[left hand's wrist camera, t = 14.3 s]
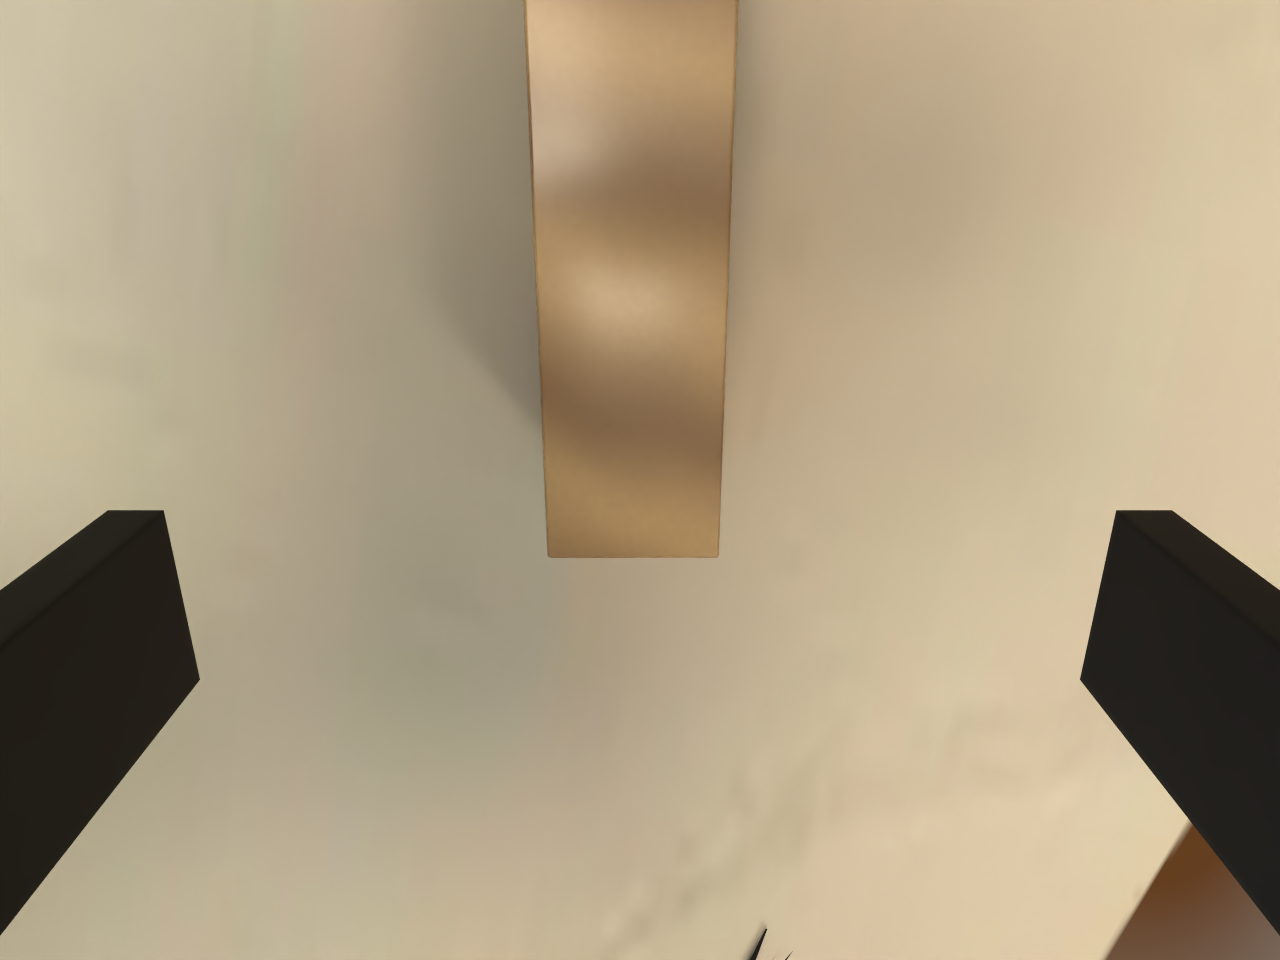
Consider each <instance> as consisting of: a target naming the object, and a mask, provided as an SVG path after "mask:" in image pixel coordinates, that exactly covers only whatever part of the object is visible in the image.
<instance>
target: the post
mask: <svg viewBox="0 0 1280 960" xmlns="http://www.w3.org/2000/svg"><path fill="white" fill-rule="evenodd" d="M524 23H525V46H526V69H527V93H528V116H529V139H530V162H531V185H532V208H533V231H534V254H535V277H536V300H537V323H538V346H539V369H540V392H541V415H542V438H543V461H544V484H545V507H546V530H547V553H548V557H550V558H654V557H718V555H719V534H720V505H721V477H722V449H723V420H724V392H725V363H726V335H727V307H728V278H729V250H730V221H731V193H732V165H733V136H734V108H735V80H736V51H737V23H738V0H524Z"/></svg>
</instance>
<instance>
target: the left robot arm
mask: <svg viewBox="0 0 1280 960" xmlns="http://www.w3.org/2000/svg"><path fill="white" fill-rule="evenodd" d="M199 680H200V678H199V673H198V668H197V664H196V659H195V654H194V650H193V645H192V640H191V636H190V631H189V626H188V622H187V617H186V612H185V608H184V603H183V598H182V594H181V589H180V584H179V580H178V575H177V570H176V566H175V561H174V556H173V552H172V547H171V542H170V538H169V533H168V528H167V524H166V519H165V515H164V510H108V511H107V512H105V513H104V514H103V515H101V516H100V517H98V518H97V519H96V520H94V521H93V522H92V523H90V524H89V525H88V526H86V527H85V528H84V529H82V530H81V531H80V532H78V533H77V534H76V535H74V536H73V537H72V538H70V539H69V540H67V541H66V542H65V543H63V544H62V545H61V546H59V547H58V548H57V549H55V550H54V551H53V552H51V553H50V554H49V555H47V556H46V557H45V558H43V559H42V560H41V561H39V562H38V563H36V564H35V565H34V566H32V567H31V568H30V569H28V570H27V571H26V572H24V573H23V574H22V575H20V576H19V577H18V578H16V579H15V580H14V581H12V582H11V583H10V584H8V585H7V586H5V587H4V588H3V589H1V590H0V935H1V934H2V933H3V931H4V930H5V929H6V927H7V926H8V925H9V924H10V922H11V921H12V920H13V919H14V917H15V916H16V915H17V913H18V912H19V911H20V910H21V908H22V907H23V906H24V904H25V903H26V902H27V901H28V899H29V898H30V897H31V895H32V894H33V893H34V892H35V890H36V889H37V888H38V886H39V885H40V884H41V883H42V881H43V880H44V879H45V878H46V876H47V875H48V874H49V872H50V871H51V870H52V869H53V867H54V866H55V865H56V863H57V862H58V861H59V860H60V858H61V857H62V856H63V854H64V853H65V852H66V851H67V849H68V848H69V847H70V845H71V844H72V843H73V842H74V840H75V839H76V838H77V837H78V835H79V834H80V833H81V831H82V830H83V829H84V828H85V826H86V825H87V824H88V822H89V821H90V820H91V819H92V817H93V816H94V815H95V813H96V812H97V811H98V810H99V808H100V807H101V806H102V804H103V803H104V802H105V801H106V799H107V798H108V797H109V796H110V794H111V793H112V792H113V790H114V789H115V788H116V787H117V785H118V784H119V783H120V781H121V780H122V779H123V778H124V776H125V775H126V774H127V772H128V771H129V770H130V769H131V767H132V766H133V765H134V763H135V762H136V761H137V760H138V758H139V757H140V756H141V754H142V753H143V752H144V751H145V749H146V748H147V747H148V746H149V744H150V743H151V742H152V740H153V739H154V738H155V737H156V735H157V734H158V733H159V731H160V730H161V729H162V728H163V726H164V725H165V724H166V722H167V721H168V720H169V719H170V717H171V716H172V715H173V713H174V712H175V711H176V710H177V708H178V707H179V706H180V705H181V703H182V702H183V701H184V699H185V698H186V697H187V696H188V694H189V693H190V692H191V690H192V689H193V688H194V687H195V685H196V684H197V683H198V681H199ZM1080 680H1081V681H1082V683H1083V684H1084V685H1085V687H1086V688H1087V689H1088V690H1089V692H1090V693H1091V694H1092V696H1093V697H1094V698H1095V699H1096V701H1097V702H1098V703H1099V705H1100V706H1101V707H1102V708H1103V710H1104V711H1105V712H1106V713H1107V715H1108V716H1109V717H1110V719H1111V720H1112V721H1113V722H1114V724H1115V725H1116V726H1117V728H1118V729H1119V730H1120V731H1121V733H1122V734H1123V735H1124V737H1125V738H1126V739H1127V740H1128V742H1129V743H1130V744H1131V746H1132V747H1133V748H1134V749H1135V751H1136V752H1137V753H1138V754H1139V756H1140V757H1141V758H1142V760H1143V761H1144V762H1145V763H1146V765H1147V766H1148V767H1149V769H1150V770H1151V771H1152V772H1153V774H1154V775H1155V776H1156V778H1157V779H1158V780H1159V781H1160V783H1161V784H1162V785H1163V787H1164V788H1165V789H1166V790H1167V792H1168V793H1169V794H1170V796H1171V797H1172V798H1173V799H1174V801H1175V802H1176V803H1177V804H1178V806H1179V807H1180V808H1181V810H1182V811H1183V812H1184V813H1185V815H1186V816H1187V817H1188V819H1189V820H1190V821H1191V822H1192V824H1193V825H1194V826H1195V828H1196V829H1197V830H1198V831H1199V833H1200V834H1201V835H1202V837H1203V838H1204V839H1205V840H1206V842H1207V843H1208V844H1209V845H1210V847H1211V848H1212V849H1213V851H1214V852H1215V853H1216V854H1217V856H1218V857H1219V858H1220V860H1221V861H1222V862H1223V863H1224V865H1225V866H1226V867H1227V869H1228V870H1229V871H1230V872H1231V874H1232V875H1233V876H1234V877H1235V879H1236V880H1237V881H1238V883H1239V884H1240V885H1241V886H1242V888H1243V889H1244V890H1245V892H1246V893H1247V894H1248V895H1249V897H1250V898H1251V899H1252V901H1253V902H1254V903H1255V904H1256V906H1257V907H1258V908H1259V910H1260V911H1261V912H1262V913H1263V915H1264V916H1265V917H1266V918H1267V920H1268V921H1269V922H1270V924H1271V925H1272V926H1273V927H1274V929H1275V930H1276V931H1277V933H1278V934H1279V935H1280V590H1279V589H1277V588H1276V587H1275V586H1273V585H1272V584H1270V583H1269V582H1268V581H1266V580H1265V579H1264V578H1262V577H1261V576H1260V575H1258V574H1257V573H1256V572H1254V571H1253V570H1252V569H1250V568H1249V567H1248V566H1246V565H1245V564H1244V563H1242V562H1241V561H1239V560H1238V559H1237V558H1235V557H1234V556H1233V555H1231V554H1230V553H1229V552H1227V551H1226V550H1225V549H1223V548H1222V547H1221V546H1219V545H1218V544H1217V543H1215V542H1214V541H1213V540H1211V539H1210V538H1208V537H1207V536H1206V535H1204V534H1203V533H1202V532H1200V531H1199V530H1198V529H1196V528H1195V527H1194V526H1192V525H1191V524H1190V523H1188V522H1187V521H1186V520H1184V519H1183V518H1182V517H1180V516H1179V515H1177V514H1176V513H1175V512H1173V511H1172V510H1116V514H1115V519H1114V524H1113V528H1112V533H1111V538H1110V542H1109V547H1108V552H1107V556H1106V561H1105V566H1104V570H1103V575H1102V580H1101V584H1100V589H1099V594H1098V598H1097V603H1096V608H1095V612H1094V617H1093V622H1092V626H1091V631H1090V636H1089V640H1088V645H1087V650H1086V654H1085V659H1084V664H1083V668H1082V673H1081V678H1080Z"/></svg>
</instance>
